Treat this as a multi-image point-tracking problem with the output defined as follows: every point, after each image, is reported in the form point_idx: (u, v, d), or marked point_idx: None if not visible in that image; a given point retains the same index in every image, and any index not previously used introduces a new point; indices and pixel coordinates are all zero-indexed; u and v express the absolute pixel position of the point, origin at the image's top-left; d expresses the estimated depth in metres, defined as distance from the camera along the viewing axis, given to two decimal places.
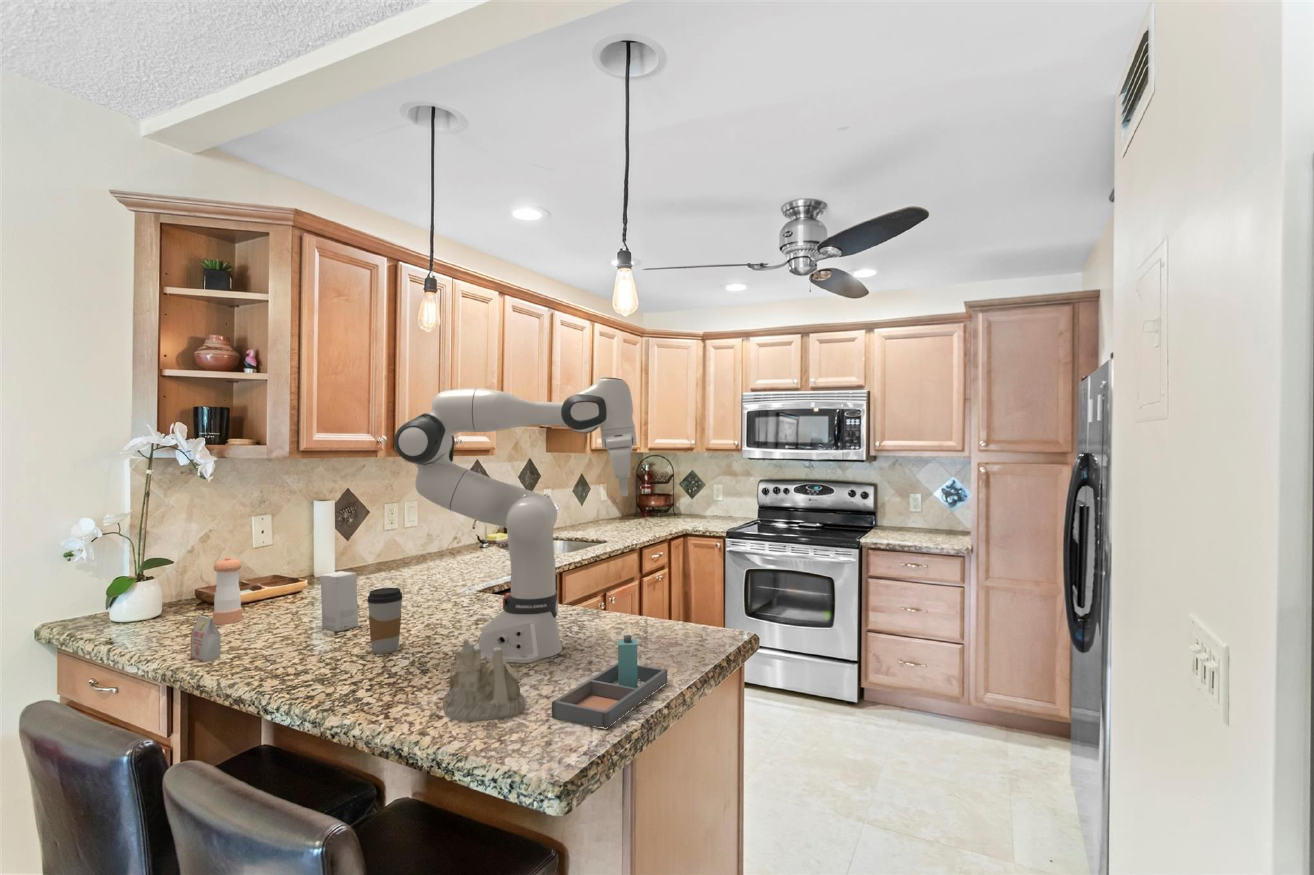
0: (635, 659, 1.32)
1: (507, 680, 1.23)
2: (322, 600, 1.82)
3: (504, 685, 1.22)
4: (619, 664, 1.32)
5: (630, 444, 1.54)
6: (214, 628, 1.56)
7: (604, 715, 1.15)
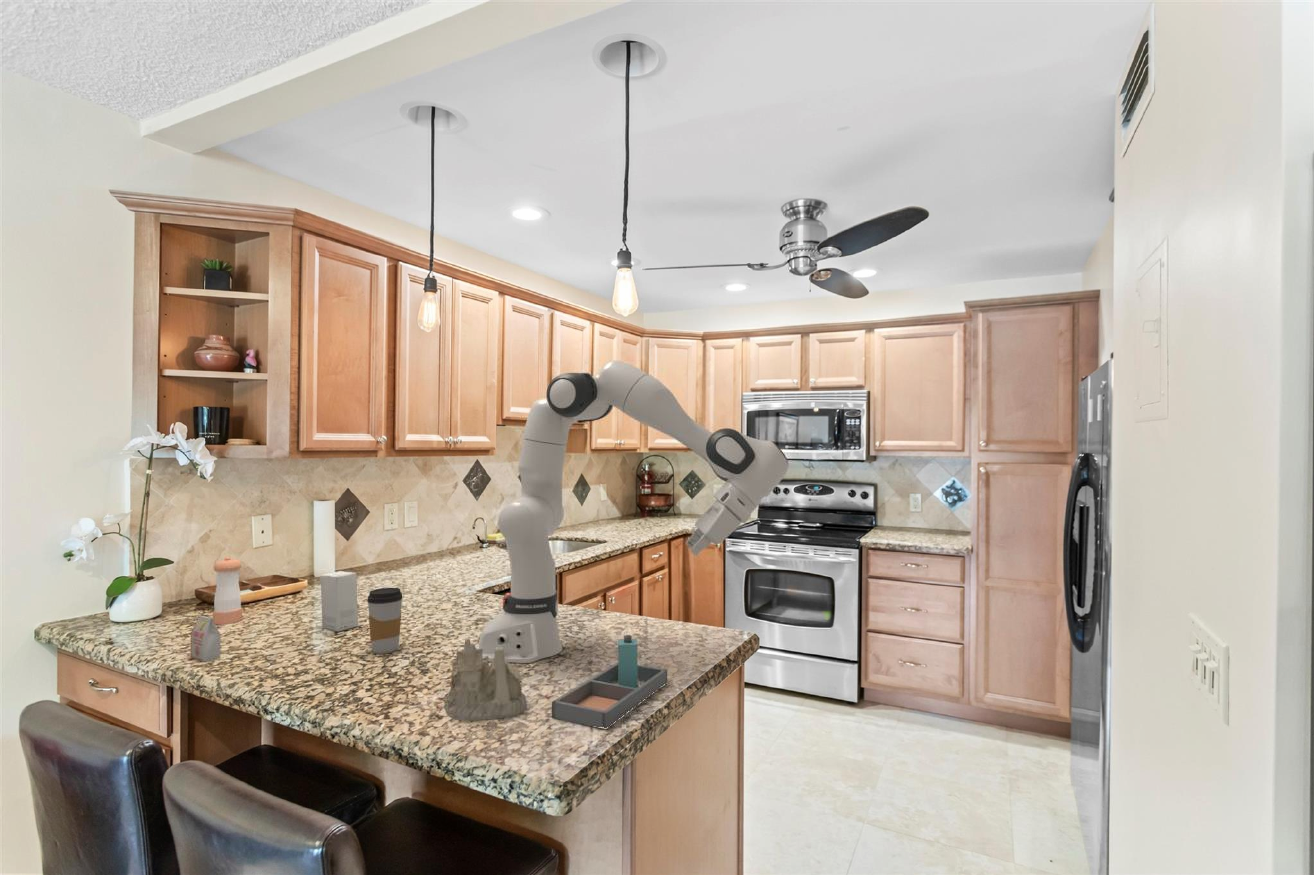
0: (635, 659, 1.32)
1: (509, 680, 1.23)
2: (322, 600, 1.82)
3: (506, 685, 1.22)
4: (619, 664, 1.32)
5: (744, 520, 1.33)
6: (214, 628, 1.56)
7: (604, 715, 1.15)
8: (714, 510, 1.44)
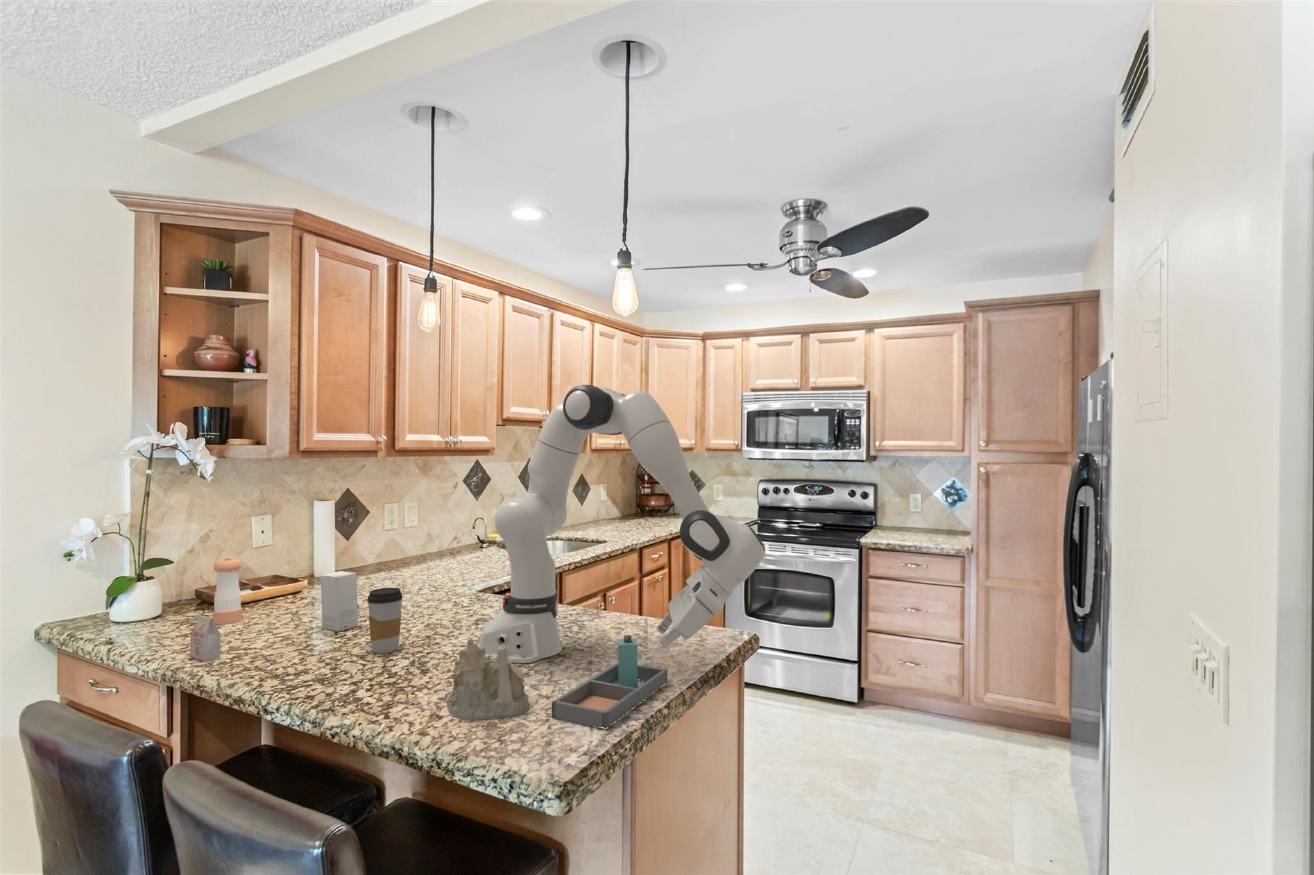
0: (635, 659, 1.32)
1: (511, 679, 1.24)
2: (322, 600, 1.82)
3: (508, 684, 1.22)
4: (619, 664, 1.32)
5: (716, 613, 1.27)
6: (214, 628, 1.56)
7: (604, 715, 1.15)
8: (687, 595, 1.38)
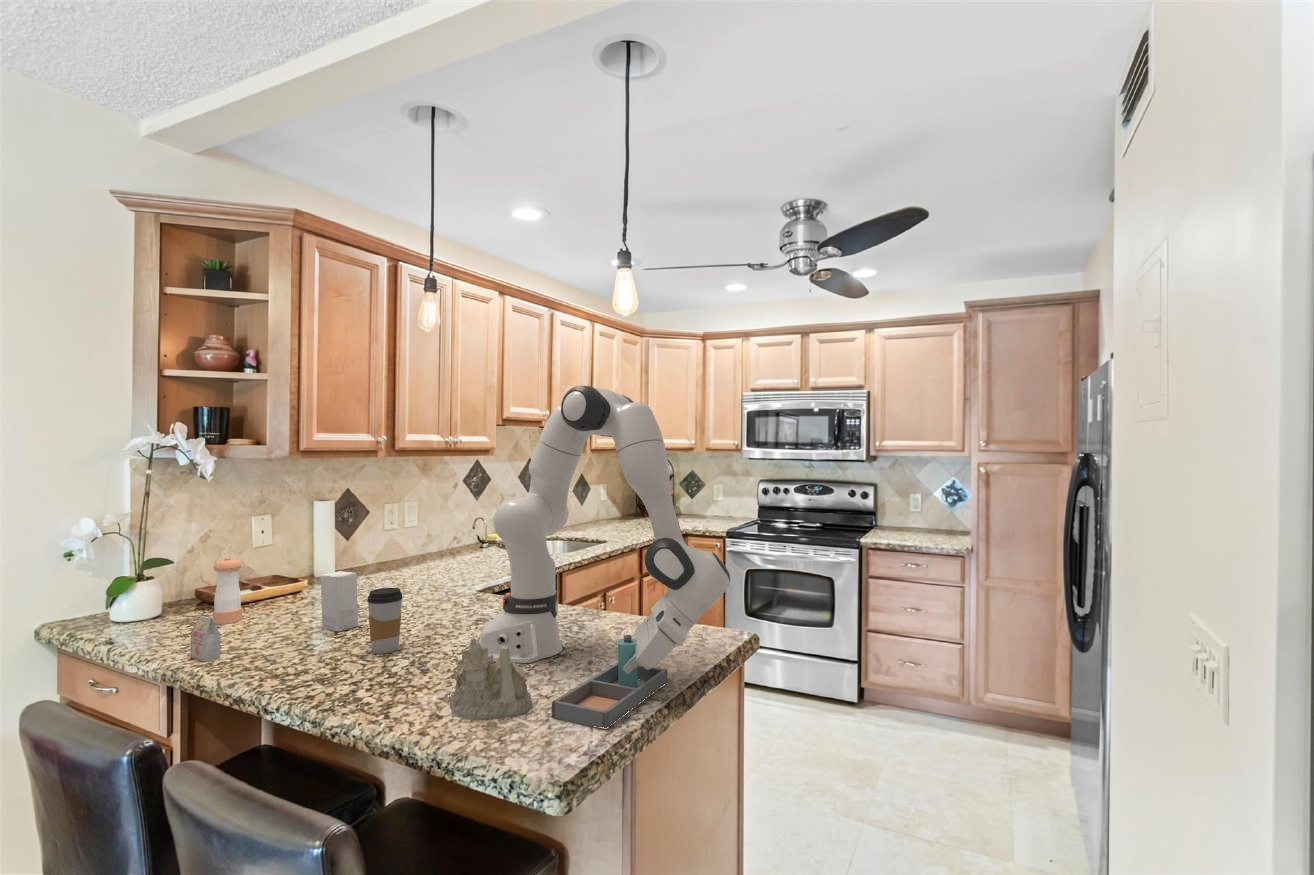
0: None
1: (514, 678, 1.24)
2: (322, 600, 1.82)
3: (511, 683, 1.23)
4: (619, 664, 1.32)
5: (679, 643, 1.26)
6: (214, 628, 1.56)
7: (604, 715, 1.15)
8: None
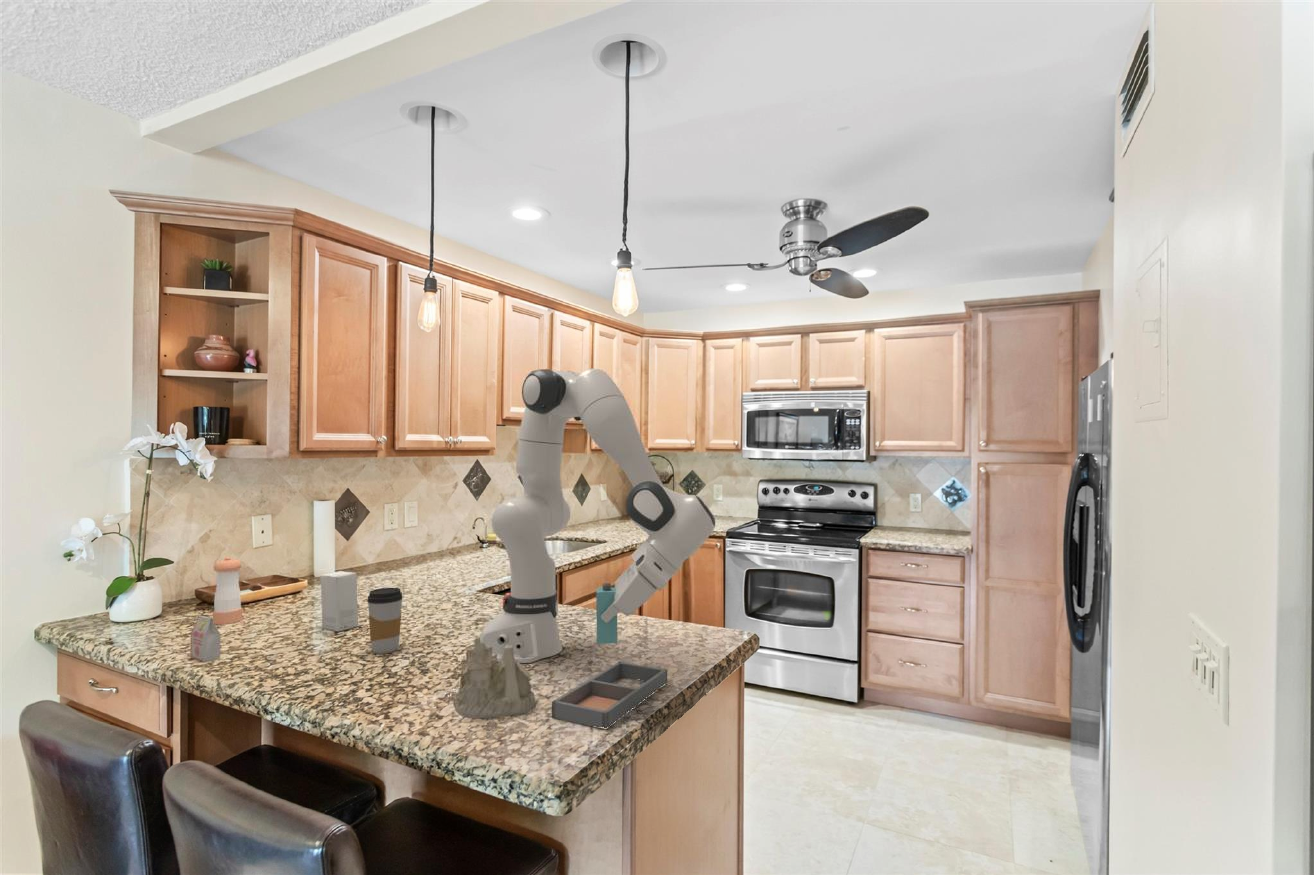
0: None
1: (518, 677, 1.25)
2: (322, 600, 1.82)
3: (515, 682, 1.23)
4: (597, 613, 1.24)
5: (660, 588, 1.19)
6: (214, 628, 1.56)
7: (604, 715, 1.15)
8: (633, 571, 1.29)
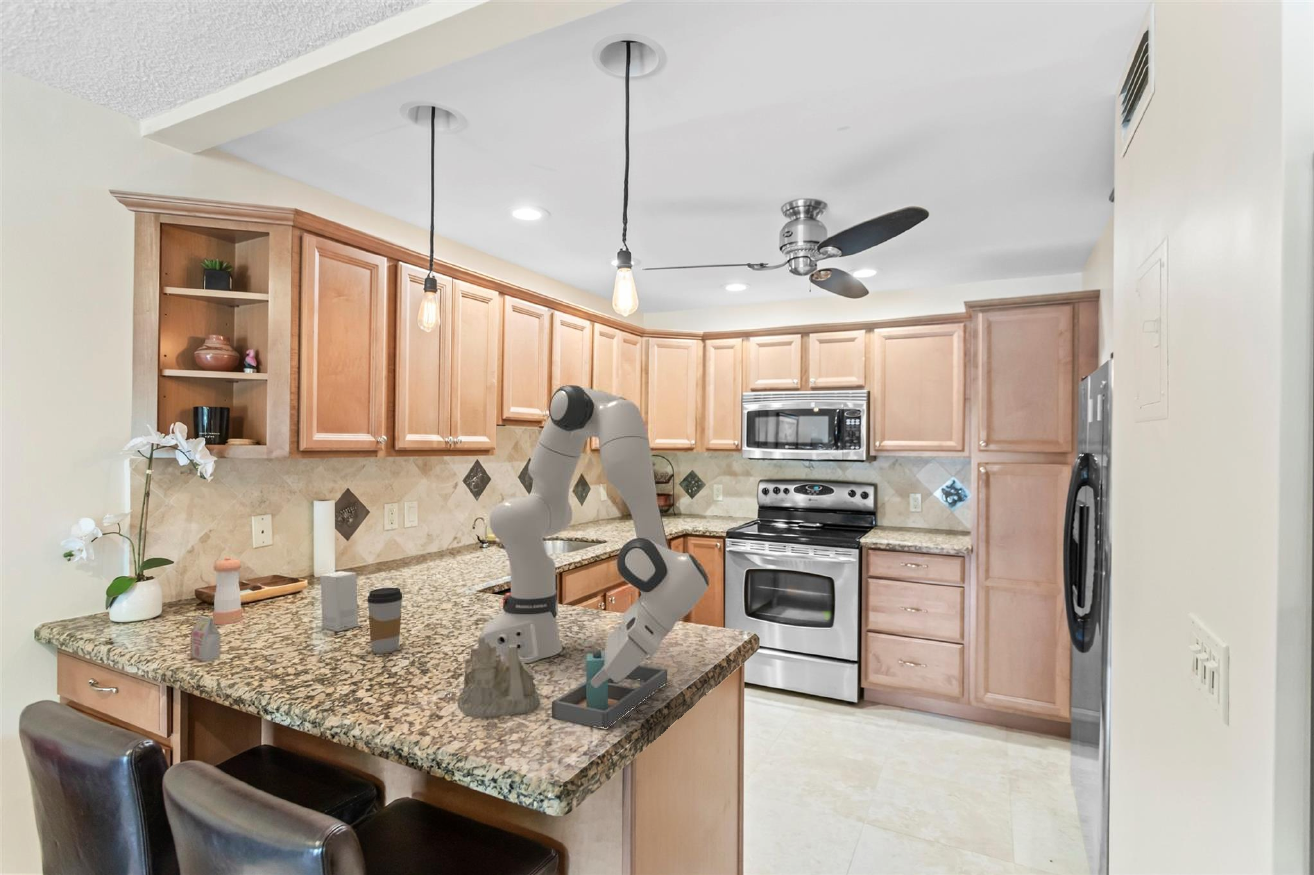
0: None
1: (522, 677, 1.25)
2: (322, 600, 1.82)
3: (520, 681, 1.23)
4: (587, 681, 1.21)
5: (650, 654, 1.16)
6: (214, 628, 1.56)
7: (604, 715, 1.15)
8: None
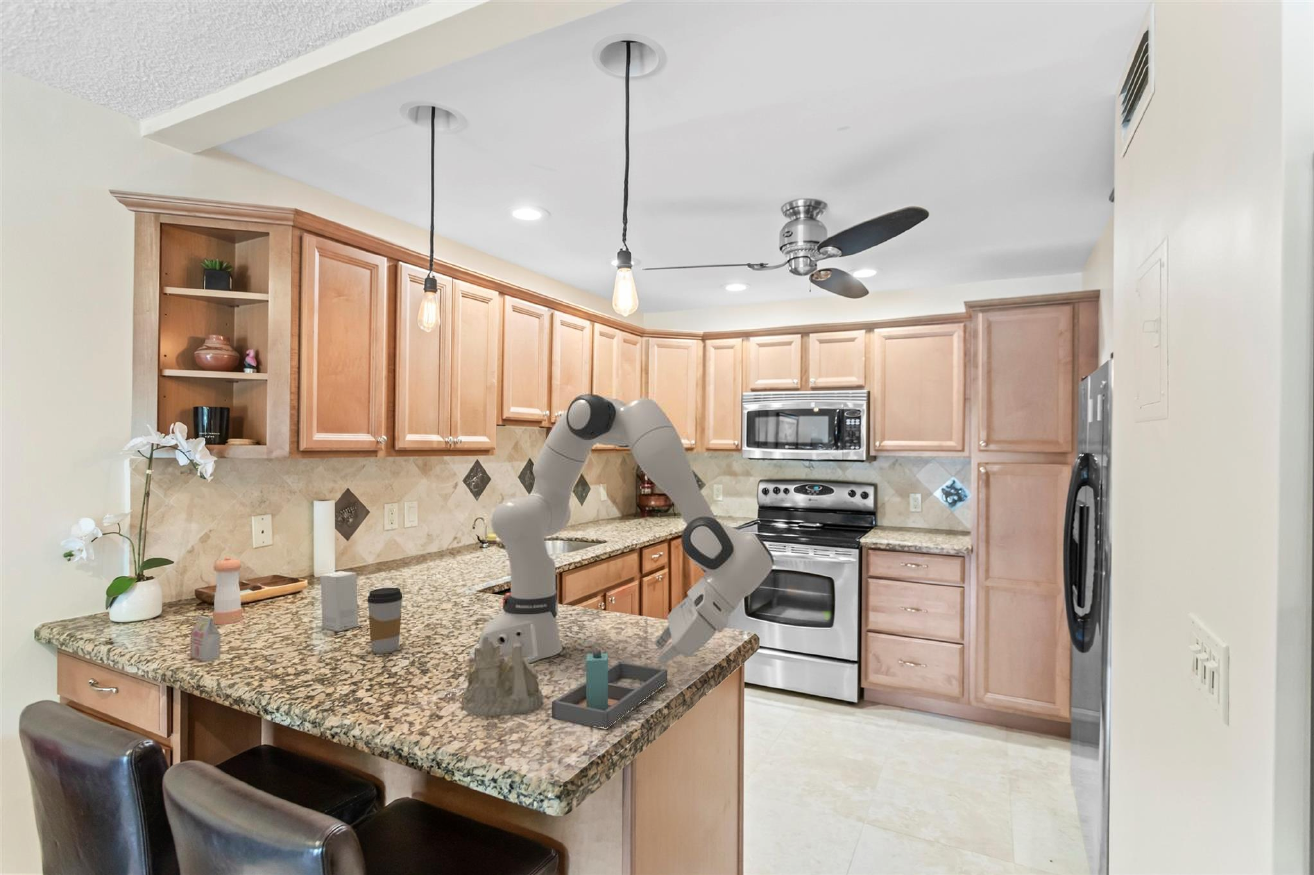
0: (605, 676, 1.21)
1: (526, 676, 1.26)
2: (322, 600, 1.82)
3: (523, 681, 1.24)
4: (587, 681, 1.21)
5: (719, 630, 1.16)
6: (214, 628, 1.56)
7: (604, 715, 1.15)
8: (688, 607, 1.27)
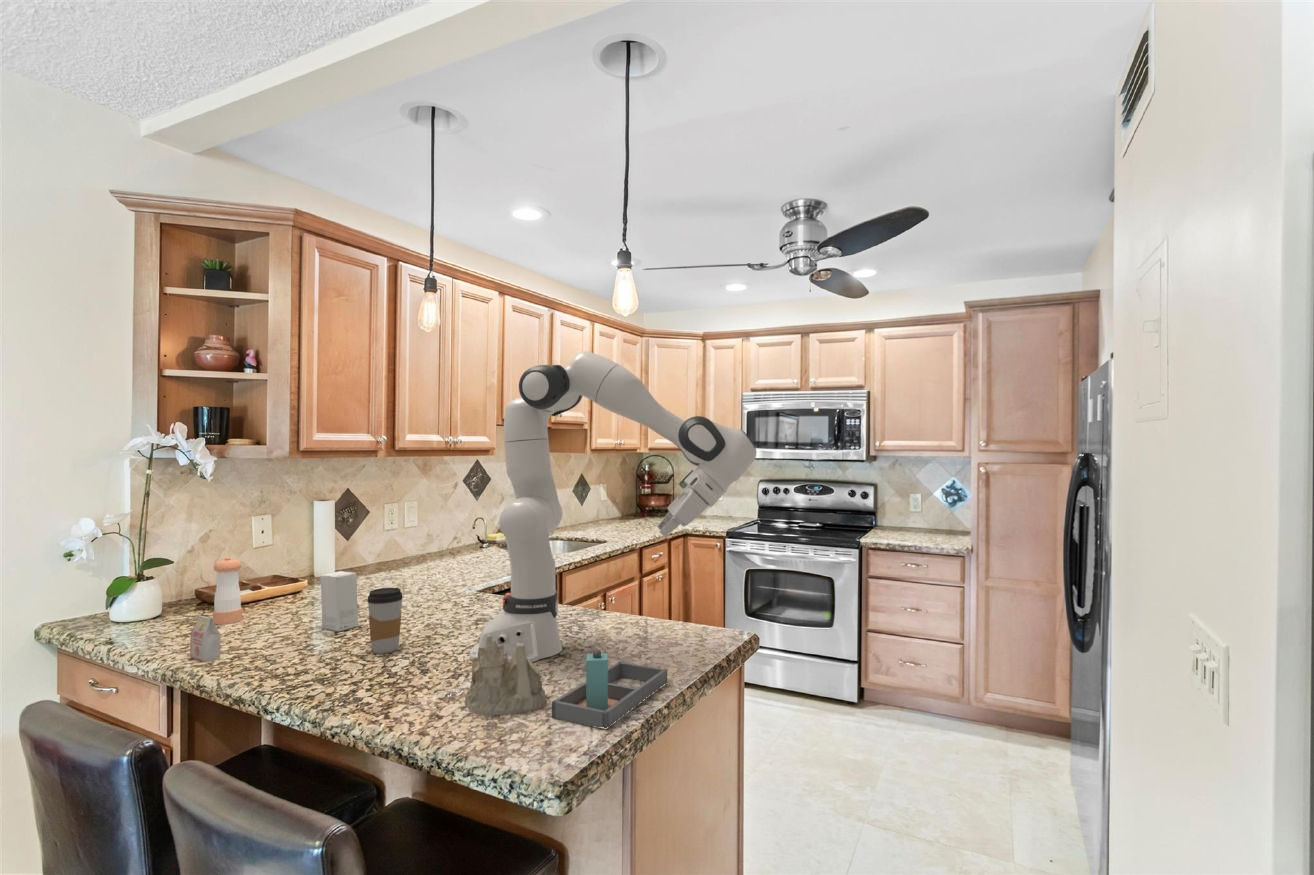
0: (605, 676, 1.21)
1: (529, 675, 1.26)
2: (322, 600, 1.82)
3: (527, 680, 1.24)
4: (587, 681, 1.21)
5: (711, 504, 1.39)
6: (214, 628, 1.56)
7: (604, 715, 1.15)
8: (685, 495, 1.50)
